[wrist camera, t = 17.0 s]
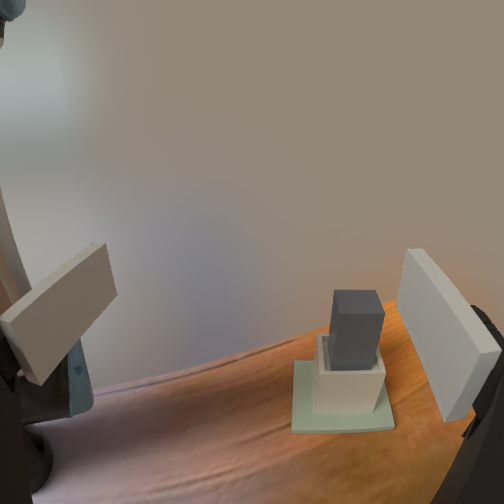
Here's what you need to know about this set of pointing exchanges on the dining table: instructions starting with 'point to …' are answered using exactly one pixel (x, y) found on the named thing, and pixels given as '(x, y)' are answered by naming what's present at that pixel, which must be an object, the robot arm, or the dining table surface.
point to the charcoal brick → (354, 329)
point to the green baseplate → (333, 423)
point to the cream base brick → (344, 384)
